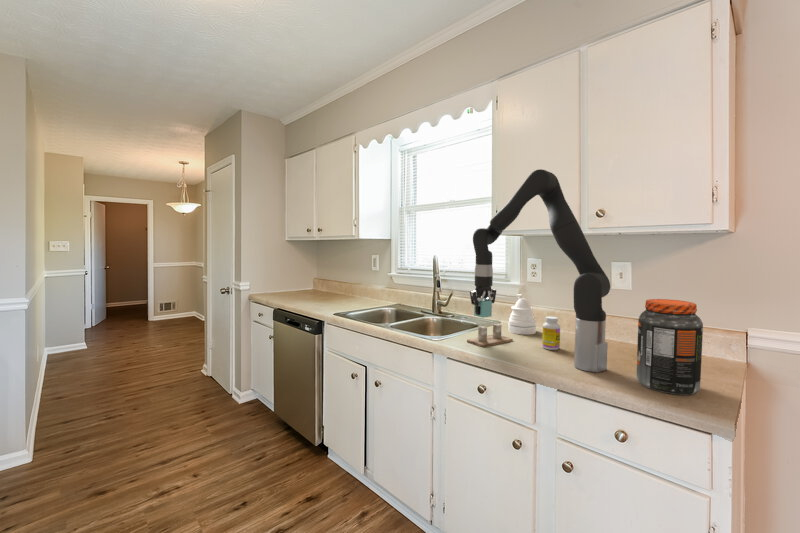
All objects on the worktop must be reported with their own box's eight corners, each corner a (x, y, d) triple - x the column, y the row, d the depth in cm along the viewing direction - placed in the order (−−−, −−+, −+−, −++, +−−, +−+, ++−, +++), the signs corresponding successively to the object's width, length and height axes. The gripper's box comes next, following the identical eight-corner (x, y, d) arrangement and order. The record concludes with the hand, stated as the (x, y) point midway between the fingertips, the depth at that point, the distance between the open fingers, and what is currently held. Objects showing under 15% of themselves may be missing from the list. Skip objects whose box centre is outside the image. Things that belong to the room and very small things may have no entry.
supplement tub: (653, 373, 123) (656, 296, 121) (710, 390, 109) (715, 303, 107) (625, 382, 115) (628, 300, 113) (682, 401, 101) (687, 307, 100)
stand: (512, 341, 163) (513, 325, 163) (483, 347, 153) (483, 330, 153) (495, 336, 172) (495, 321, 171) (466, 341, 162) (467, 326, 161)
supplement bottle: (557, 351, 147) (558, 319, 147) (540, 348, 151) (541, 317, 151) (561, 347, 153) (562, 317, 152) (544, 345, 157) (545, 315, 156)
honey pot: (502, 330, 183) (503, 294, 182) (519, 327, 190) (520, 292, 189) (524, 335, 173) (525, 297, 171) (541, 332, 180) (542, 295, 179)
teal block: (491, 316, 159) (491, 301, 158) (482, 317, 156) (483, 302, 155) (482, 314, 163) (483, 299, 163) (474, 315, 160) (474, 300, 160)
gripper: (477, 276, 151) (477, 317, 152) (501, 274, 159) (501, 313, 160) (465, 275, 157) (464, 314, 159) (489, 273, 165) (488, 311, 166)
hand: (482, 313), depth 159 cm, fingers closed on teal block, 5 cm apart
